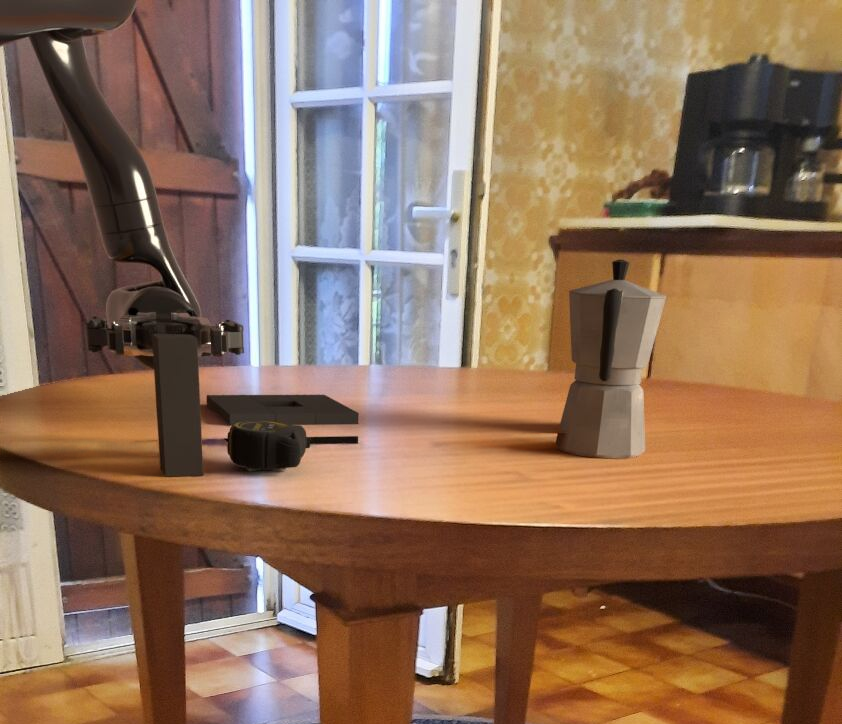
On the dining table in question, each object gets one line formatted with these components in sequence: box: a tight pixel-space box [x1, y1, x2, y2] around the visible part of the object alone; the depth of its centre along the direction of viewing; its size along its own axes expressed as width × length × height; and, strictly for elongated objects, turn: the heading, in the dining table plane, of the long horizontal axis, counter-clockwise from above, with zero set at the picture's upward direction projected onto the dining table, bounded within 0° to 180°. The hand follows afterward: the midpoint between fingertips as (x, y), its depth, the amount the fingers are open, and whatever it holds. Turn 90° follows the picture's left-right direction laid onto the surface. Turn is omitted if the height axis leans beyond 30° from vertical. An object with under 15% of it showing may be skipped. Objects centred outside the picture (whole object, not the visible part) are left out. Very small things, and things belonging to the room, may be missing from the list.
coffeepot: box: [554, 258, 667, 459], centre depth 106 cm, size 15×9×18 cm, turn 167°
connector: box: [152, 334, 204, 478], centre depth 89 cm, size 3×3×11 cm
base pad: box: [206, 394, 360, 445], centre depth 111 cm, size 13×13×3 cm
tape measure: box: [226, 421, 312, 472], centre depth 94 cm, size 7×7×4 cm
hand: (169, 343), depth 95 cm, fingers open, 8 cm apart
